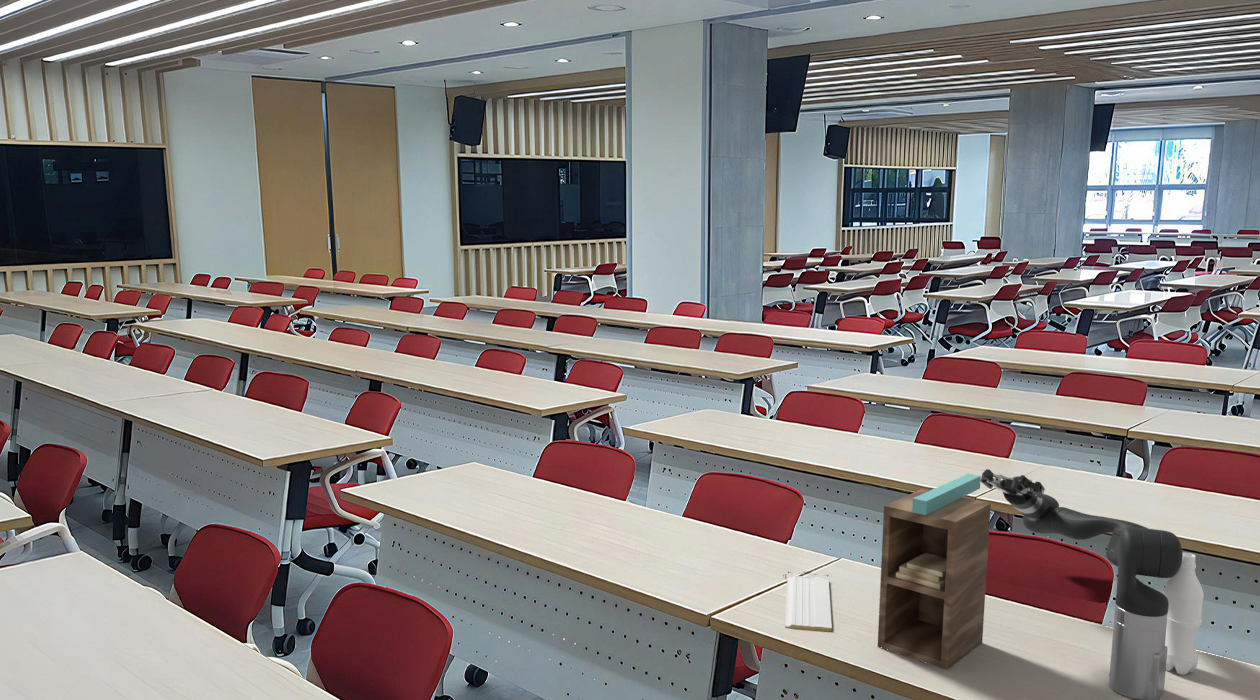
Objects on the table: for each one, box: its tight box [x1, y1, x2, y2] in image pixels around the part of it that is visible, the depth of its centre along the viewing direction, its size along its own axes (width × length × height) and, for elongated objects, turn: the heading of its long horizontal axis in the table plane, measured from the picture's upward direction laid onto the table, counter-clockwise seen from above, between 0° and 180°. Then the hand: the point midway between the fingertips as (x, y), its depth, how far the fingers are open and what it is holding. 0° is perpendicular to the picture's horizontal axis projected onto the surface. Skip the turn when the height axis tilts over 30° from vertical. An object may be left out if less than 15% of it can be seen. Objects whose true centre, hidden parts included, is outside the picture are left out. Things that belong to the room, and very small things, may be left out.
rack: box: [877, 488, 992, 671], centre depth 207 cm, size 16×18×32 cm
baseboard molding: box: [782, 571, 833, 632], centre depth 232 cm, size 31×3×12 cm
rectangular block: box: [912, 473, 982, 515], centre depth 209 cm, size 3×28×3 cm, turn 137°
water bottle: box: [1163, 551, 1205, 675], centre depth 197 cm, size 7×7×25 cm
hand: (1003, 475), depth 231 cm, fingers open, 8 cm apart
